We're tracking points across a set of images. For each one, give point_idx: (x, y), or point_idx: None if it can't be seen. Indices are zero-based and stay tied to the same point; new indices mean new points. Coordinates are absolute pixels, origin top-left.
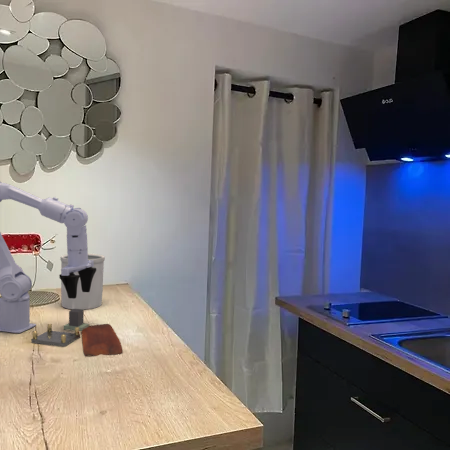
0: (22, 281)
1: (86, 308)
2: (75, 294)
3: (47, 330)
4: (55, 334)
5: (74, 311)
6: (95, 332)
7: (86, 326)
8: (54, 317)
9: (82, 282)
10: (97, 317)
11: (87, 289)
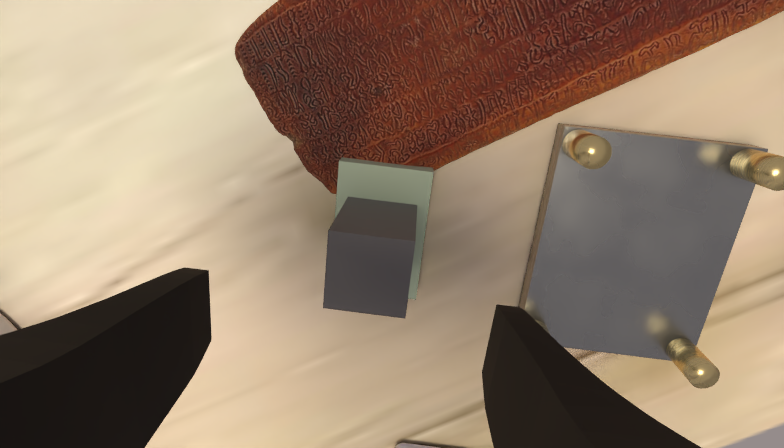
0: None
1: (3, 321)
2: (539, 325)
3: None
4: (591, 274)
5: (403, 276)
6: (486, 43)
7: (371, 162)
8: (225, 418)
9: (142, 424)
10: (124, 187)
11: (193, 299)
